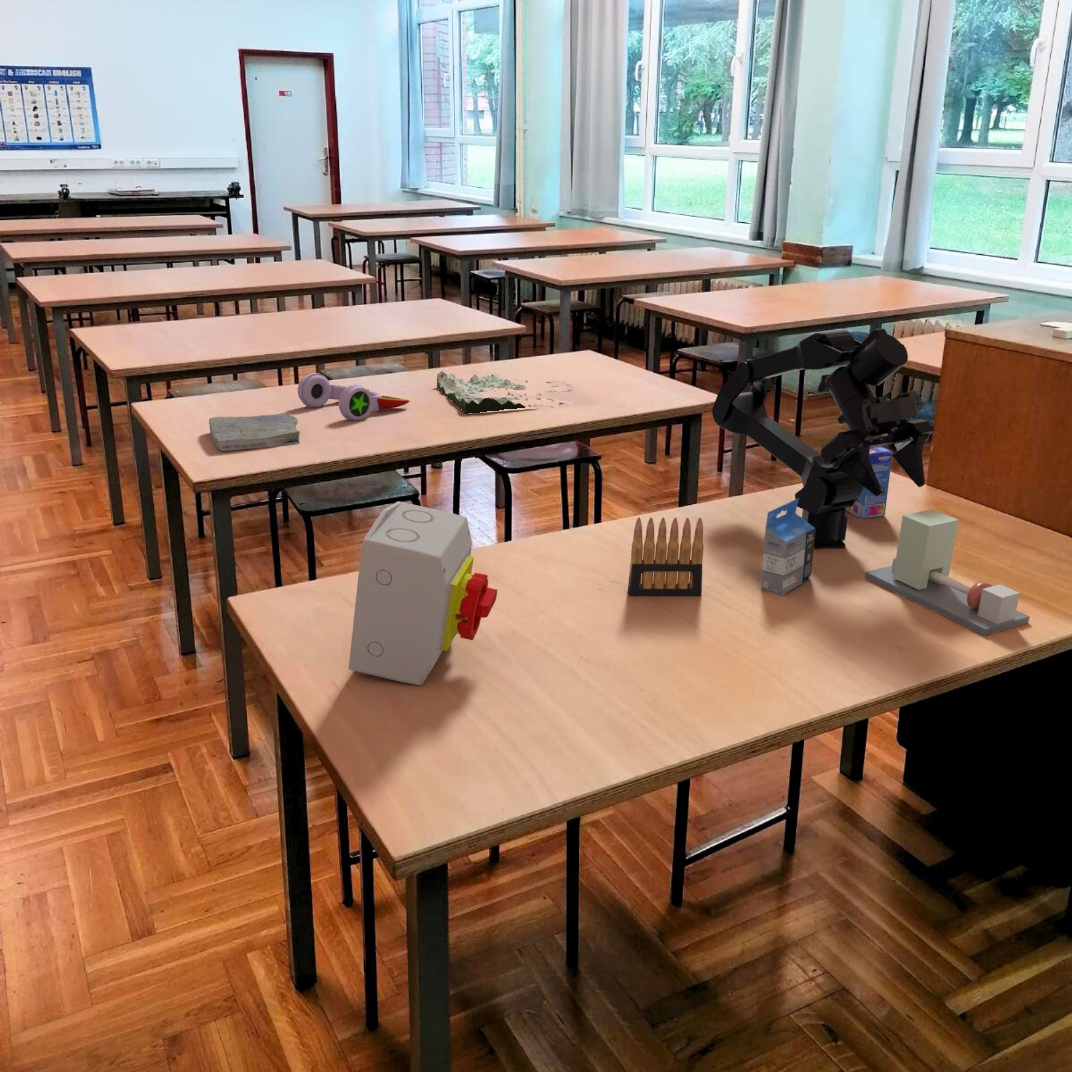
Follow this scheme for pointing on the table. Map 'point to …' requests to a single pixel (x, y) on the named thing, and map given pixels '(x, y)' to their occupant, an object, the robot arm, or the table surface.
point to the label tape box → (787, 550)
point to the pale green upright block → (924, 547)
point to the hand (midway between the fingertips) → (901, 490)
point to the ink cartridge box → (881, 465)
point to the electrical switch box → (415, 592)
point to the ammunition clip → (666, 561)
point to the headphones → (344, 397)
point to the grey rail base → (959, 600)
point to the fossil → (253, 431)
